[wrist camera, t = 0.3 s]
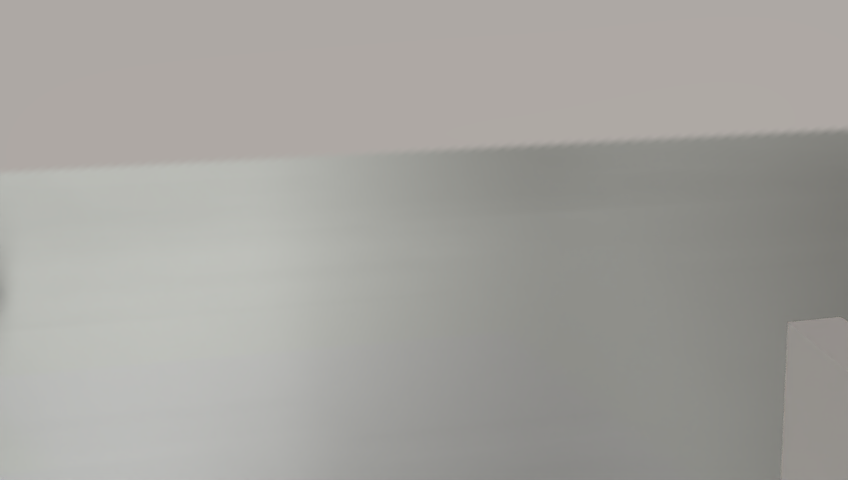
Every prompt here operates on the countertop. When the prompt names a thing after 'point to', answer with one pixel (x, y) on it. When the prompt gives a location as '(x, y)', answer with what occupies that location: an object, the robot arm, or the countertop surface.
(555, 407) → the countertop surface
